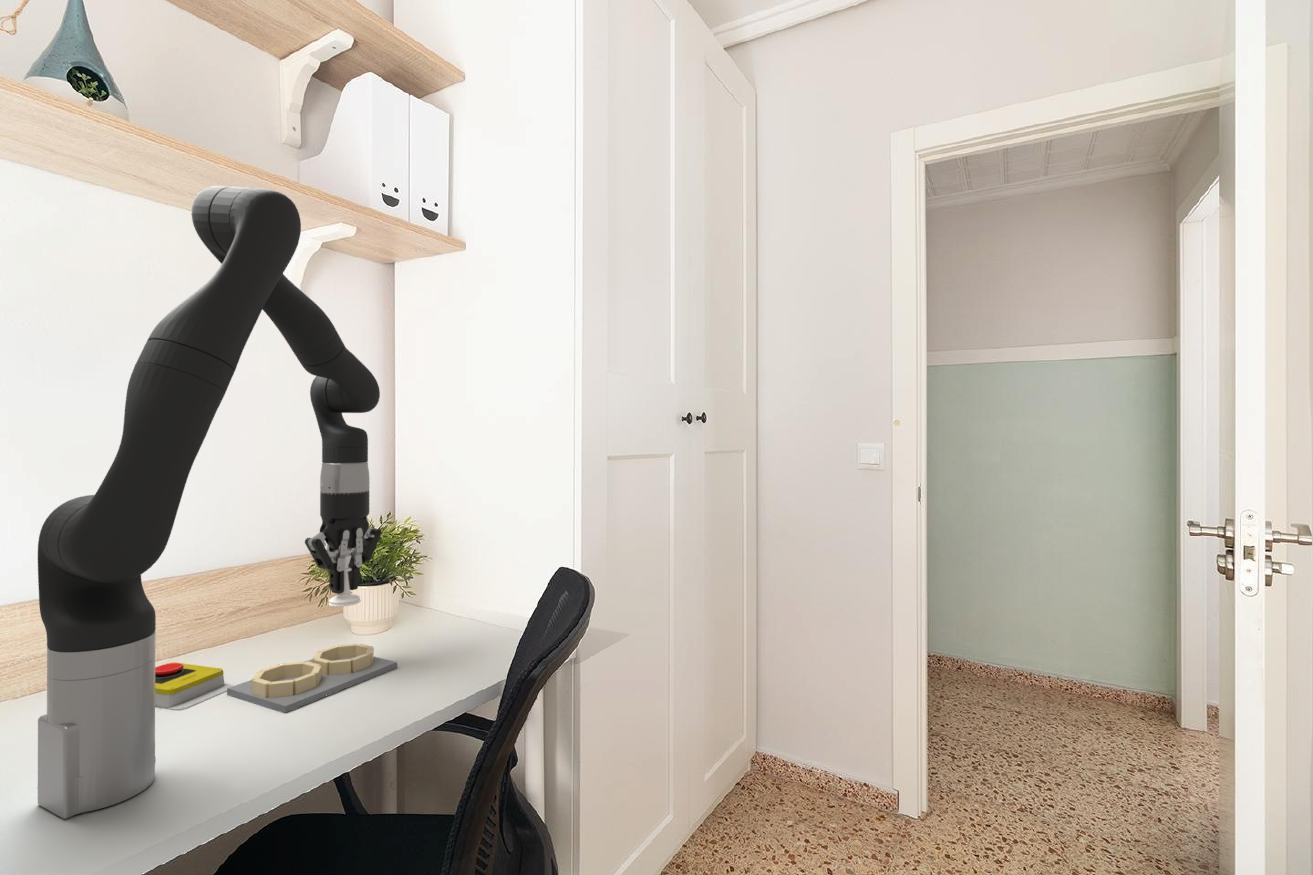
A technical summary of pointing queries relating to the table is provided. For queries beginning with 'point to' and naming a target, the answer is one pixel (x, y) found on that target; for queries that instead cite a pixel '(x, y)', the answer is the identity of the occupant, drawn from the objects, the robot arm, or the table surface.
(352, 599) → the chess piece
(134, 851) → the table surface
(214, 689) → the emergency button
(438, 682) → the table surface
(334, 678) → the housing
